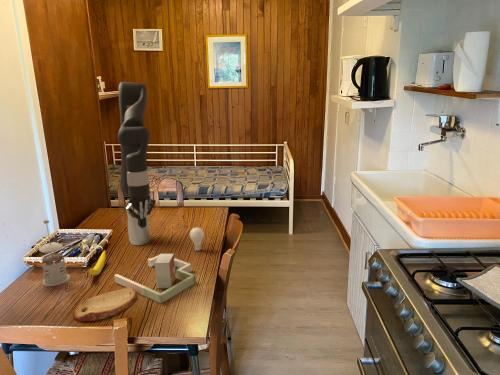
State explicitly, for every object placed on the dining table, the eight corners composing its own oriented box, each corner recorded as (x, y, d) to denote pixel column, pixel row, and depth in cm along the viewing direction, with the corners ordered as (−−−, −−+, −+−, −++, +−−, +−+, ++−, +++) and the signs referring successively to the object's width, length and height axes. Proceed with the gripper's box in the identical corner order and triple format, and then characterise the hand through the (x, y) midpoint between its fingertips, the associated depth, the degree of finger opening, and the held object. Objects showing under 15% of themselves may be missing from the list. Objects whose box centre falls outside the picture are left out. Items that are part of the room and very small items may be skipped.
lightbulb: (207, 248, 175) (206, 226, 172) (201, 254, 170) (199, 231, 167) (194, 246, 177) (193, 224, 174) (188, 252, 172) (186, 229, 169)
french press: (42, 288, 144) (30, 226, 137) (42, 275, 154) (31, 216, 147) (70, 282, 148) (60, 221, 141) (69, 269, 158) (59, 212, 151)
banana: (109, 260, 165) (107, 247, 163) (94, 283, 147) (92, 268, 145) (102, 261, 165) (101, 247, 163) (87, 283, 147) (84, 268, 145)
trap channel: (115, 282, 147) (114, 275, 146) (160, 259, 165) (160, 253, 164) (161, 303, 133) (160, 295, 132) (205, 276, 151) (205, 269, 150)
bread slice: (140, 292, 140) (139, 283, 139) (124, 322, 123) (122, 312, 122) (91, 293, 141) (90, 284, 140) (68, 323, 123) (67, 313, 122)
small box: (171, 288, 142) (169, 263, 139) (156, 288, 142) (154, 263, 139) (176, 278, 150) (174, 253, 147) (162, 277, 150) (159, 253, 147)
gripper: (146, 177, 145) (149, 219, 150) (116, 185, 135) (121, 230, 140) (159, 179, 141) (163, 223, 146) (129, 188, 131) (134, 235, 136)
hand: (142, 227), depth 143 cm, fingers closed
